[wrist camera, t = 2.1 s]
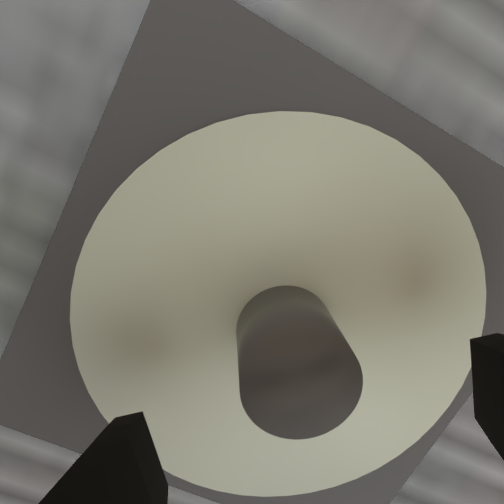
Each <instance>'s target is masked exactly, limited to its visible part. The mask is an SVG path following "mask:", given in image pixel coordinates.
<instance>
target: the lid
mask: <svg viewBox="0 0 504 504" xmlns="http://www.w3.org/2000/svg"><path fill="white" fill-rule="evenodd" d="M485 309H486V281H485V268H484V263H483V259H482V255H481V250H480V246H479V242H478V240H477V237H476V234H475V232H474V229H473V227H472V224H471V222H470V219H469V217H468V215H467V214H466V212H465V210H464V208H463V207H462V205H461V203H460V201H459V200H458V198H457V196H456V195H455V194H454V192H453V191H452V190H451V189H450V187H449V186H448V185H447V183H446V182H445V181H444V180H443V178H442V177H441V176H440V175H439V174H438V173H437V172H436V171H435V170H434V169H433V168H432V167H431V166H430V165H429V164H428V163H427V162H426V161H424V160H423V159H422V158H421V157H420V156H419V155H418V154H416V153H415V152H413V151H412V150H410V149H409V148H407V147H406V146H405V145H403V144H402V143H400V142H399V141H397V140H396V139H394V138H392V137H390V136H388V135H386V134H384V133H382V132H380V131H378V130H376V129H374V128H372V127H370V126H366V125H363V124H360V123H357V122H354V121H351V120H348V119H345V118H342V117H337V116H331V115H325V114H319V113H314V112H295V111H275V112H266V113H257V114H248V115H244V116H240V117H236V118H232V119H228V120H224V121H220V122H217V123H214V124H212V125H209V126H207V127H204V128H202V129H199V130H197V131H194V132H192V133H190V134H187V135H186V136H184V137H182V138H180V139H179V140H177V141H175V142H173V143H172V144H170V145H168V146H167V147H165V148H163V149H161V150H160V151H159V152H157V153H156V154H155V155H154V156H152V157H151V158H150V159H148V160H147V161H146V162H145V163H143V164H142V165H141V166H139V167H138V168H137V169H136V170H135V171H134V172H133V173H132V174H131V175H130V176H129V177H128V178H127V179H126V180H125V181H124V182H123V183H122V184H121V185H120V186H119V187H118V189H117V190H116V191H115V192H114V193H113V195H112V196H111V198H110V199H109V200H108V202H107V203H106V205H105V206H104V207H103V209H102V210H101V211H100V213H99V214H98V216H97V218H96V220H95V222H94V224H93V226H92V228H91V229H90V231H89V233H88V235H87V237H86V239H85V242H84V244H83V247H82V250H81V253H80V256H79V259H78V262H77V264H76V268H75V274H74V279H73V284H72V289H71V301H70V326H71V336H72V345H73V349H74V353H75V357H76V361H77V364H78V368H79V371H80V373H81V376H82V378H83V381H84V383H85V385H86V388H87V390H88V393H89V394H90V396H91V398H92V399H93V401H94V403H95V404H96V406H97V408H98V409H99V411H100V413H101V414H102V415H103V417H104V418H105V419H106V420H107V422H108V423H110V422H111V421H112V420H113V419H114V418H115V417H119V416H124V415H128V414H133V413H137V412H142V411H143V414H144V416H145V419H146V422H147V425H148V428H149V431H150V434H151V437H152V440H153V442H154V445H155V448H156V451H157V454H158V457H159V460H160V463H161V466H162V469H163V470H165V471H167V472H168V473H170V474H172V475H174V476H176V477H179V478H181V479H183V480H186V481H188V482H190V483H193V484H195V485H199V486H202V487H205V488H209V489H212V490H216V491H220V492H226V493H231V494H237V495H245V496H259V497H273V496H291V495H298V494H305V493H312V492H316V491H320V490H324V489H328V488H332V487H335V486H338V485H341V484H344V483H346V482H349V481H352V480H355V479H357V478H359V477H361V476H363V475H366V474H368V473H370V472H372V471H374V470H376V469H378V468H380V467H381V466H383V465H384V464H386V463H388V462H389V461H391V460H392V459H394V458H396V457H397V456H399V455H400V454H401V453H403V452H404V451H405V450H406V449H408V448H409V447H410V446H412V445H413V444H414V443H415V442H417V441H418V440H419V439H420V438H421V437H422V436H423V435H424V434H425V433H426V432H427V431H428V430H429V429H430V428H431V427H432V426H433V425H434V424H435V423H436V422H437V420H438V419H439V418H440V417H441V415H442V414H443V413H444V412H445V411H446V409H447V408H448V407H449V406H450V404H451V403H452V401H453V399H454V398H455V396H456V395H457V393H458V392H459V390H460V388H461V387H462V385H463V383H464V381H465V379H466V377H467V375H468V373H469V371H470V369H471V352H470V339H472V338H477V337H481V335H482V330H483V325H484V320H485Z"/></svg>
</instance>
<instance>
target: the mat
mask: <svg viewBox="0 0 504 504" xmlns="http://www.w3.org/2000/svg"><path fill="white" fill-rule="evenodd" d="M275 111H295V112H314V113H319V114H325V115H331V116H337V117H342V118H345V119H348V120H351V121H354V122H357V123H360V124H363V125H366V126H370V127H372V128H374V129H376V130H378V131H380V132H382V133H384V134H386V135H388V136H390V137H392V138H394V139H396V140H397V141H399V142H400V143H402V144H403V145H405V146H406V147H407V148H409V149H410V150H412V151H413V152H415V153H416V154H418V155H419V156H420V157H421V158H422V159H423V160H424V161H426V162H427V163H428V164H429V165H430V166H431V167H432V168H433V169H434V170H435V171H436V172H437V173H438V174H439V175H440V176H441V177H442V178H443V180H444V181H445V182H446V183H447V185H448V186H449V187H450V189H451V190H452V191H453V192H454V194H455V195H456V196H457V198H458V200H459V201H460V203H461V205H462V207H463V208H464V210H465V212H466V214H467V215H468V217H469V219H470V222H471V224H472V227H473V229H474V232H475V234H476V237H477V240H478V242H479V246H480V250H481V255H482V259H483V263H484V268H485V281H486V309H485V320H484V325H483V330H482V335H481V336H486V335H490V334H495V333H500V334H504V167H502V166H501V165H499V164H497V163H496V162H494V161H492V160H491V159H489V158H488V157H486V156H484V155H483V154H481V153H479V152H478V151H476V150H475V149H473V148H471V147H470V146H468V145H466V144H465V143H463V142H462V141H460V140H458V139H457V138H455V137H453V136H452V135H450V134H449V133H447V132H445V131H444V130H442V129H441V128H439V127H437V126H436V125H434V124H432V123H431V122H429V121H428V120H426V119H424V118H423V117H421V116H419V115H418V114H416V113H415V112H413V111H411V110H410V109H408V108H406V107H405V106H403V105H402V104H400V103H398V102H397V101H395V100H394V99H392V98H390V97H389V96H387V95H385V94H384V93H382V92H381V91H379V90H377V89H376V88H374V87H372V86H371V85H369V84H368V83H366V82H364V81H363V80H361V79H359V78H358V77H356V76H355V75H353V74H351V73H350V72H348V71H346V70H345V69H343V68H342V67H340V66H338V65H337V64H335V63H334V62H332V61H330V60H329V59H327V58H325V57H324V56H322V55H321V54H319V53H317V52H316V51H314V50H312V49H311V48H309V47H308V46H306V45H304V44H303V43H301V42H299V41H298V40H296V39H295V38H293V37H291V36H290V35H288V34H286V33H285V32H283V31H282V30H280V29H278V28H277V27H275V26H274V25H272V24H270V23H269V22H267V21H265V20H264V19H262V18H261V17H259V16H257V15H256V14H254V13H252V12H251V11H249V10H248V9H246V8H244V7H243V6H241V5H239V4H238V3H236V2H235V1H233V0H151V1H150V3H149V6H148V8H147V11H146V13H145V15H144V18H143V20H142V23H141V25H140V27H139V30H138V32H137V35H136V37H135V39H134V42H133V44H132V47H131V49H130V51H129V54H128V56H127V59H126V61H125V63H124V66H123V68H122V71H121V73H120V75H119V78H118V80H117V83H116V85H115V87H114V90H113V92H112V95H111V97H110V99H109V102H108V104H107V107H106V109H105V111H104V114H103V116H102V119H101V121H100V123H99V126H98V128H97V131H96V133H95V135H94V138H93V140H92V143H91V145H90V147H89V150H88V152H87V155H86V157H85V159H84V162H83V164H82V167H81V169H80V171H79V174H78V176H77V179H76V181H75V183H74V186H73V188H72V191H71V193H70V195H69V198H68V200H67V203H66V205H65V207H64V210H63V212H62V215H61V217H60V219H59V222H58V224H57V227H56V229H55V231H54V234H53V236H52V239H51V241H50V243H49V246H48V248H47V251H46V253H45V255H44V258H43V260H42V263H41V265H40V267H39V270H38V272H37V275H36V277H35V279H34V282H33V284H32V287H31V289H30V291H29V294H28V296H27V298H26V301H25V303H24V306H23V308H22V310H21V313H20V315H19V318H18V320H17V322H16V325H15V327H14V330H13V332H12V334H11V337H10V339H9V342H8V344H7V346H6V349H5V351H4V354H3V356H2V358H1V361H0V425H3V426H6V427H8V428H11V429H14V430H17V431H19V432H22V433H25V434H28V435H31V436H33V437H36V438H39V439H42V440H45V441H47V442H50V443H53V444H56V445H58V446H61V447H64V448H67V449H70V450H72V451H75V452H78V453H81V454H83V453H84V451H85V450H86V449H87V448H88V447H89V446H90V444H91V443H92V442H93V441H94V440H95V439H96V438H97V437H98V435H99V434H100V433H101V432H102V431H103V430H104V429H105V428H106V427H107V425H108V424H109V423H108V422H107V420H106V419H105V418H104V417H103V415H102V414H101V413H100V411H99V409H98V408H97V406H96V404H95V403H94V401H93V399H92V398H91V396H90V394H89V393H88V390H87V388H86V385H85V383H84V381H83V378H82V376H81V373H80V371H79V368H78V364H77V361H76V357H75V353H74V349H73V345H72V336H71V326H70V301H71V289H72V284H73V279H74V274H75V268H76V264H77V262H78V259H79V256H80V253H81V250H82V247H83V244H84V242H85V239H86V237H87V235H88V233H89V231H90V229H91V228H92V226H93V224H94V222H95V220H96V218H97V216H98V214H99V213H100V211H101V210H102V209H103V207H104V206H105V205H106V203H107V202H108V200H109V199H110V198H111V196H112V195H113V193H114V192H115V191H116V190H117V189H118V187H119V186H120V185H121V184H122V183H123V182H124V181H125V180H126V179H127V178H128V177H129V176H130V175H131V174H132V173H133V172H134V171H135V170H136V169H137V168H138V167H139V166H141V165H142V164H143V163H145V162H146V161H147V160H148V159H150V158H151V157H152V156H154V155H155V154H156V153H157V152H159V151H160V150H161V149H163V148H165V147H167V146H168V145H170V144H172V143H173V142H175V141H177V140H179V139H180V138H182V137H184V136H186V135H187V134H190V133H192V132H194V131H197V130H199V129H202V128H204V127H207V126H209V125H212V124H214V123H217V122H220V121H224V120H228V119H232V118H236V117H240V116H244V115H248V114H257V113H266V112H275ZM472 392H473V383H472V368H471V369H470V371H469V373H468V375H467V377H466V379H465V381H464V383H463V385H462V387H461V388H460V390H459V392H458V393H457V395H456V396H455V398H454V399H453V401H452V403H451V404H450V406H449V407H448V408H447V409H446V411H445V412H444V413H443V414H442V415H441V417H440V418H439V419H438V420H437V422H436V423H435V424H434V425H433V426H432V427H431V428H430V429H429V430H428V431H427V432H426V433H425V434H424V435H423V436H422V437H421V438H420V439H419V440H418V441H417V442H415V443H414V444H413V445H412V446H410V447H409V448H408V449H406V450H405V451H404V452H403V453H401V454H400V455H399V456H397V457H396V458H394V459H392V460H391V461H389V462H388V463H386V464H384V465H383V466H381V467H380V468H378V469H376V470H374V471H372V472H370V473H368V474H366V475H363V476H361V477H359V478H357V479H355V480H352V481H349V482H346V483H344V484H341V485H338V486H335V487H332V488H328V489H324V490H320V491H316V492H312V493H305V494H298V495H291V496H273V497H259V496H245V495H237V494H231V493H226V492H220V491H216V490H212V489H209V488H205V487H202V486H199V485H195V484H193V483H190V482H188V481H186V480H183V479H181V478H179V477H176V476H174V475H172V474H170V473H168V472H167V471H165V470H163V471H164V474H165V477H166V480H167V483H168V485H170V486H173V487H176V488H178V489H181V490H184V491H187V492H190V493H192V494H195V495H198V496H201V497H203V498H206V499H209V500H212V501H215V502H217V503H220V504H389V503H390V502H391V501H392V499H393V498H394V497H395V495H396V494H397V493H398V491H399V490H400V489H401V487H402V486H403V485H404V483H405V482H406V481H407V479H408V478H409V476H410V475H411V474H412V472H413V471H414V470H415V468H416V467H417V466H418V464H419V463H420V462H421V460H422V459H423V458H424V456H425V455H426V454H427V452H428V451H429V450H430V448H431V447H432V446H433V444H434V443H435V442H436V440H437V439H438V438H439V436H440V435H441V433H442V432H443V431H444V429H445V428H446V427H447V425H448V424H449V423H450V421H451V420H452V419H453V417H454V416H455V415H456V413H457V412H458V411H459V409H460V408H461V407H462V405H463V404H464V403H465V401H466V400H467V399H468V397H469V396H470V395H471V393H472Z"/></svg>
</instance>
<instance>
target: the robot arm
mask: <svg viewBox="0 0 504 504" xmlns="http://www.w3.org/2000/svg"><path fill="white" fill-rule="evenodd" d="M470 352H471V368H472V383H473V399H474V414H475V419H476V420H477V422H478V423H479V425H480V426H481V428H482V429H483V431H484V432H485V434H486V435H487V437H488V439H489V440H490V442H491V443H492V444H493V446H494V447H495V449H496V450H497V452H498V453H499V454H500V456H501V457H502V459H503V460H504V334H500V333H495V334H490V335H486V336H481V337H477V338H472V339H470ZM167 499H168V483H167V480H166V477H165V474H164V471H163V469H162V466H161V463H160V460H159V457H158V454H157V451H156V448H155V445H154V442H153V440H152V437H151V434H150V431H149V428H148V425H147V422H146V419H145V416H144V414H143V411H142V412H137V413H133V414H128V415H124V416H119V417H115V418H114V419H113V420H112V421H111V422H110V423H109V424H108V425H107V427H106V428H105V429H104V430H103V431H102V432H101V433H100V434H99V435H98V437H97V438H96V439H95V440H94V441H93V442H92V443H91V444H90V446H89V447H88V448H87V449H86V450H85V451H84V453H83V454H82V455H81V456H80V457H79V458H78V459H77V461H76V462H75V463H74V464H73V465H72V466H71V467H70V469H69V470H68V471H67V472H66V473H65V474H64V475H63V477H62V478H61V479H60V480H59V481H58V482H57V483H56V484H55V486H54V487H53V488H52V489H51V490H50V491H49V492H48V494H47V495H46V496H45V497H44V498H43V499H42V500H41V501H40V502H39V504H167Z"/></svg>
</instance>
